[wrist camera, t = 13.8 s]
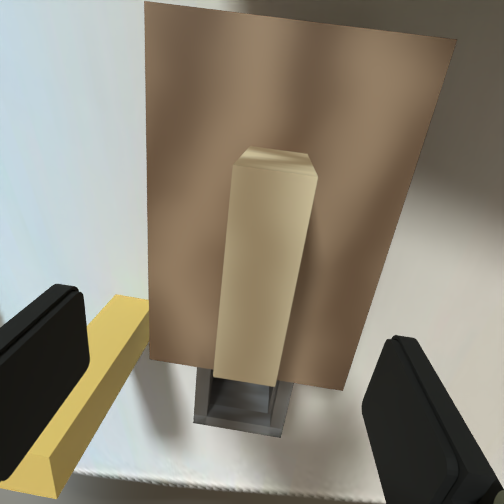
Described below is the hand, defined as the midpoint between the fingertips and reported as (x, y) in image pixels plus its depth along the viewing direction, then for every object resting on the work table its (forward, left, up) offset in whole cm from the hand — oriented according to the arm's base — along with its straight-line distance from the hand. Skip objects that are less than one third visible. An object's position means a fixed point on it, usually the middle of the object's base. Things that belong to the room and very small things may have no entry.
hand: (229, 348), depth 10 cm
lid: (-1, +3, -12) cm, 12 cm away
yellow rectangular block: (+11, +14, -19) cm, 26 cm away
